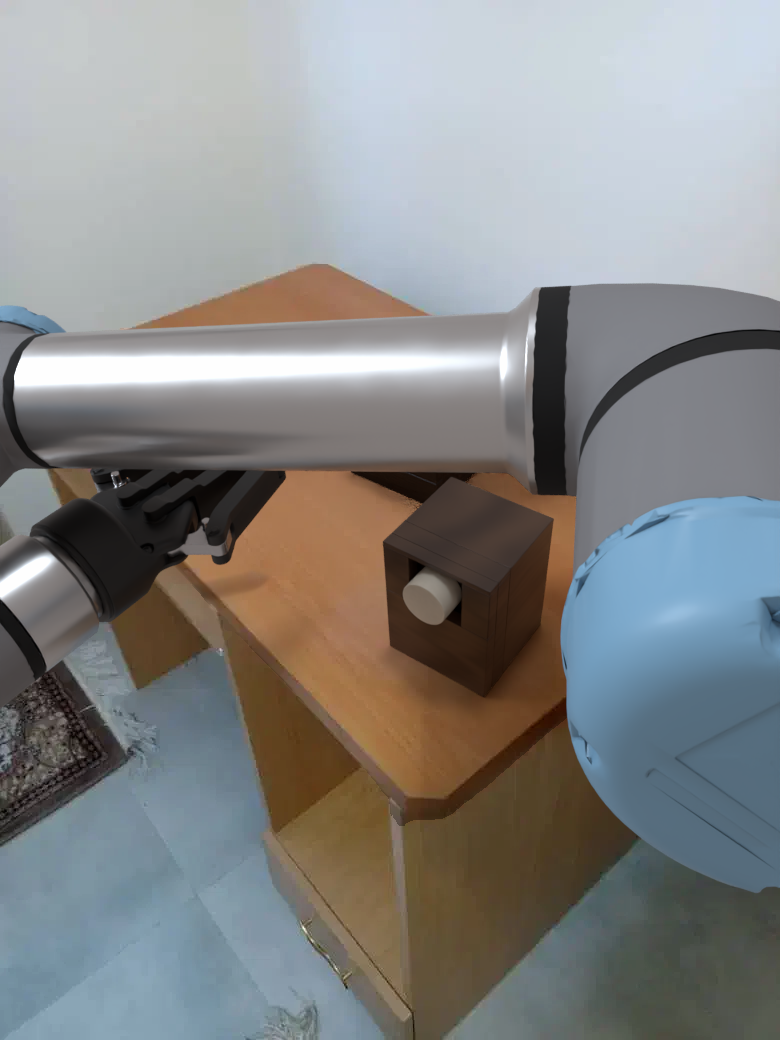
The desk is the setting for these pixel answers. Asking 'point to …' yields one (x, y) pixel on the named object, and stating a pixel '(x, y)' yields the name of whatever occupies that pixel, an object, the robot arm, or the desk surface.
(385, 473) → the dark button box
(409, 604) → the timer button
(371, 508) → the desk surface
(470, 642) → the box
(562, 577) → the desk surface
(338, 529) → the desk surface
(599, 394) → the robot arm
